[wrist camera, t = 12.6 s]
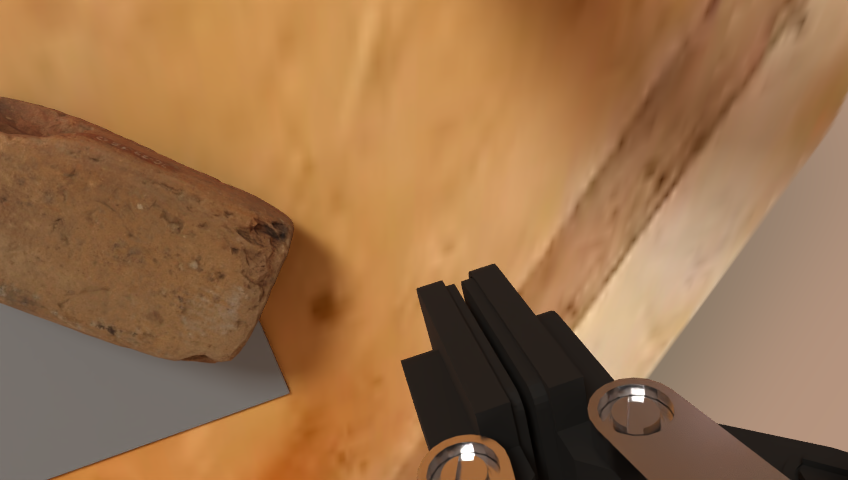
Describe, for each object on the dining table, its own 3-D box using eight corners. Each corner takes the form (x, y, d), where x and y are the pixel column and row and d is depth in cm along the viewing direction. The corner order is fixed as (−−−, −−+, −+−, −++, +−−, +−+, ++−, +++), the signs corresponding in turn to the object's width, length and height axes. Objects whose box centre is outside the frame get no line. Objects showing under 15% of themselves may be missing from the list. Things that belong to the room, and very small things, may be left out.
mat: (219, 227, 40) (218, 228, 40) (289, 391, 46) (289, 393, 46) (-124, 336, 38) (-127, 338, 38) (-6, 496, 43) (-8, 499, 43)
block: (222, 395, 36) (-171, 260, 29) (235, 337, 43) (-80, 218, 36) (303, 238, 34) (-101, 57, 27) (303, 204, 41) (-19, 54, 34)
